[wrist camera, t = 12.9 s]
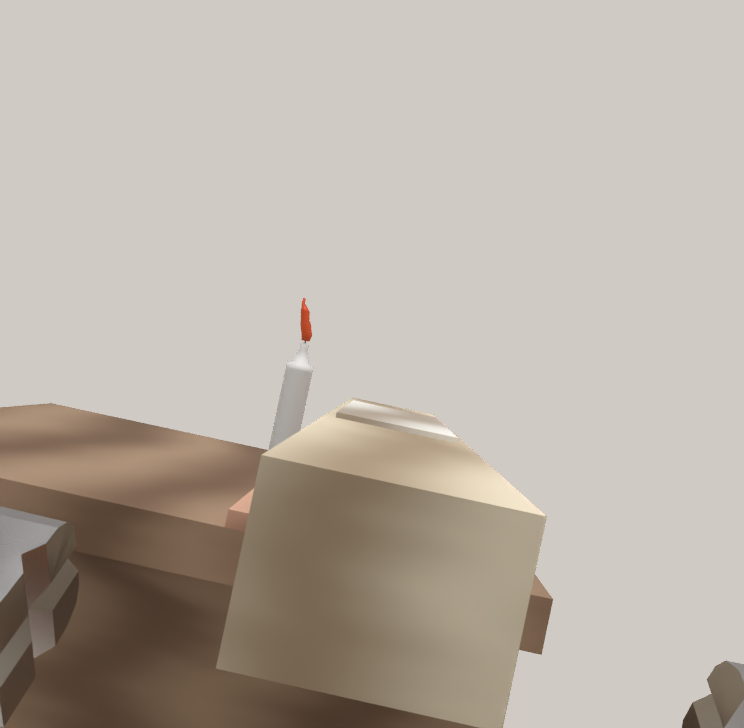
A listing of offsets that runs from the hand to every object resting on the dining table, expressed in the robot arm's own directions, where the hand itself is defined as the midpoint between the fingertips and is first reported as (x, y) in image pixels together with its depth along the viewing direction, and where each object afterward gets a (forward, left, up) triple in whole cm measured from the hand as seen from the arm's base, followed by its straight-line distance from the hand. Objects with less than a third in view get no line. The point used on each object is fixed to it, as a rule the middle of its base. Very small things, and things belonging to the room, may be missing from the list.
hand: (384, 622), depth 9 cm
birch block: (-4, +12, -1) cm, 13 cm away
